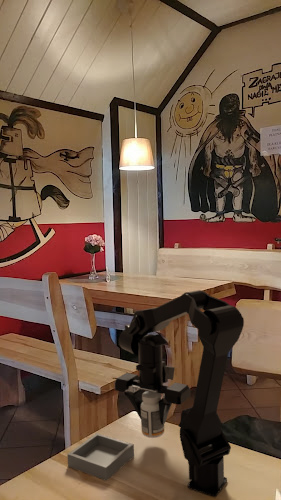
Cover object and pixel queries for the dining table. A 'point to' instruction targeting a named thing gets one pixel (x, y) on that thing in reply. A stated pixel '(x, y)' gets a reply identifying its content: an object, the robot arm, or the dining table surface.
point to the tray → (101, 456)
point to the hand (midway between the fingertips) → (152, 421)
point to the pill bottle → (151, 415)
